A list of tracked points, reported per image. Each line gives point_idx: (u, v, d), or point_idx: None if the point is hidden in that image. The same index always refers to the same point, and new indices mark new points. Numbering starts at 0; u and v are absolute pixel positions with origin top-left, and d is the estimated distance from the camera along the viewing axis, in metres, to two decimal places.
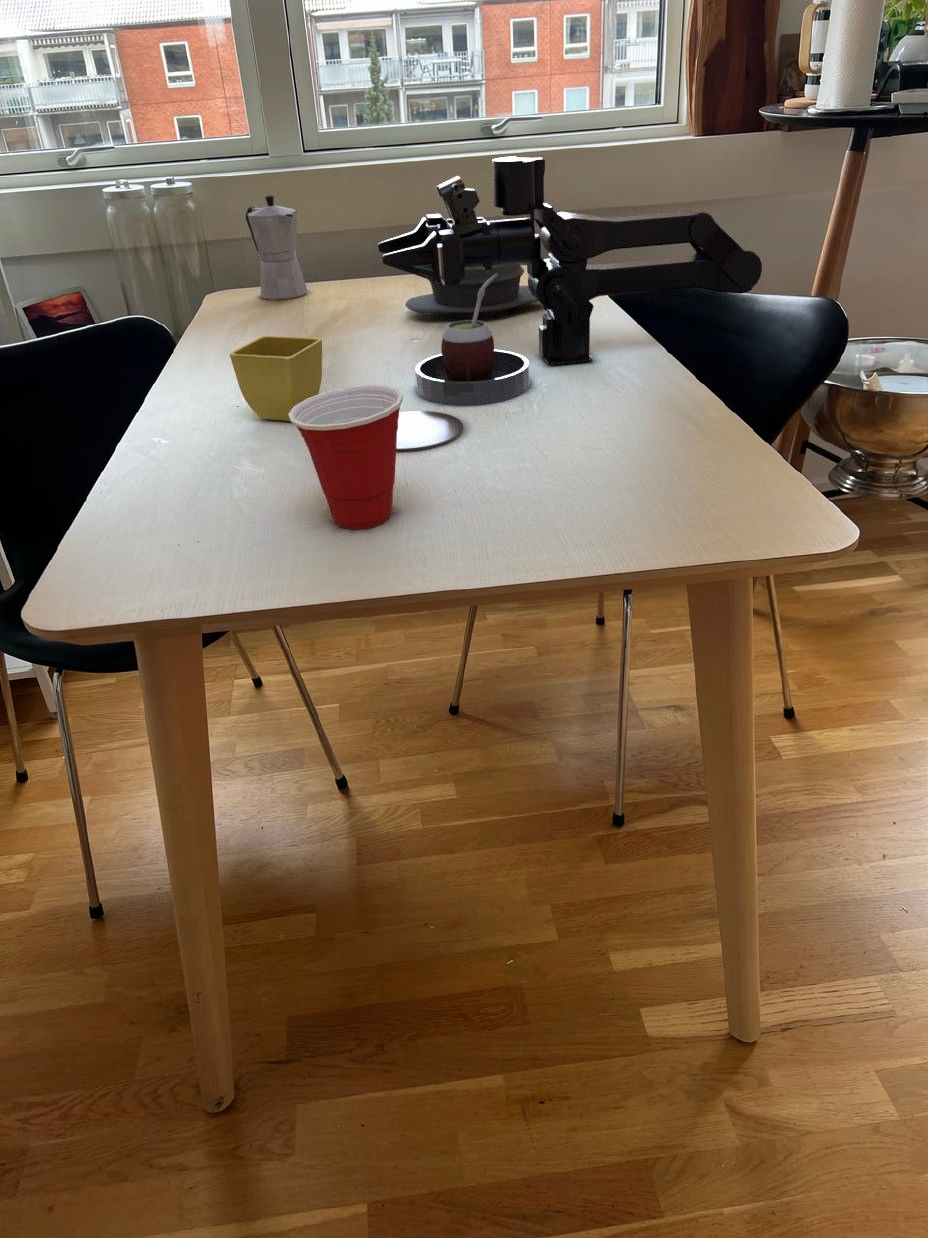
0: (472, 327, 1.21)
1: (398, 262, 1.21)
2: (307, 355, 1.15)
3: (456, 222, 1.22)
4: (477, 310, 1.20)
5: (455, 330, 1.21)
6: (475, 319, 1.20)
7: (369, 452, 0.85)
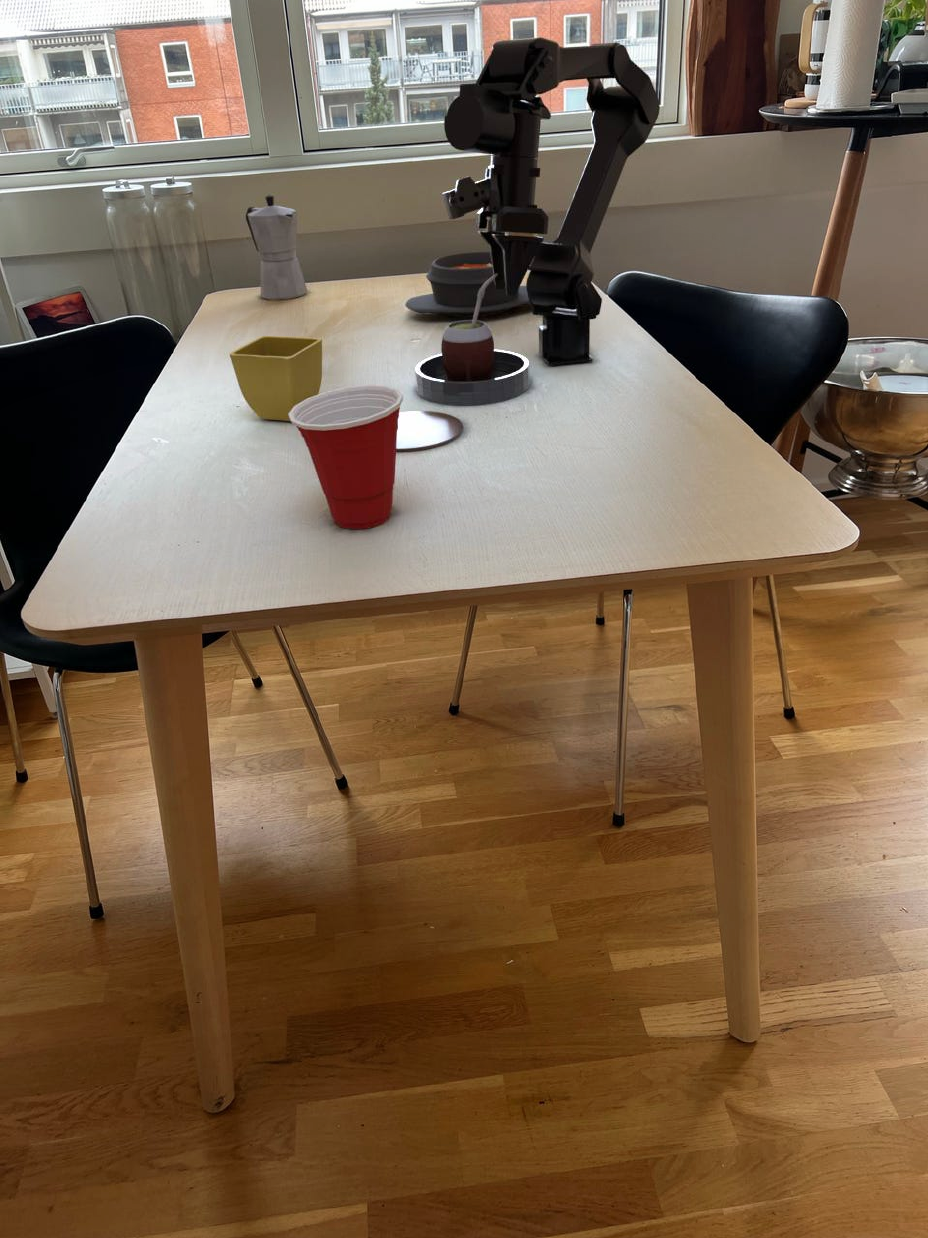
0: (472, 327, 1.21)
1: (516, 279, 1.15)
2: (307, 355, 1.15)
3: (487, 204, 1.14)
4: (477, 310, 1.20)
5: (455, 330, 1.21)
6: (475, 319, 1.20)
7: (369, 452, 0.85)
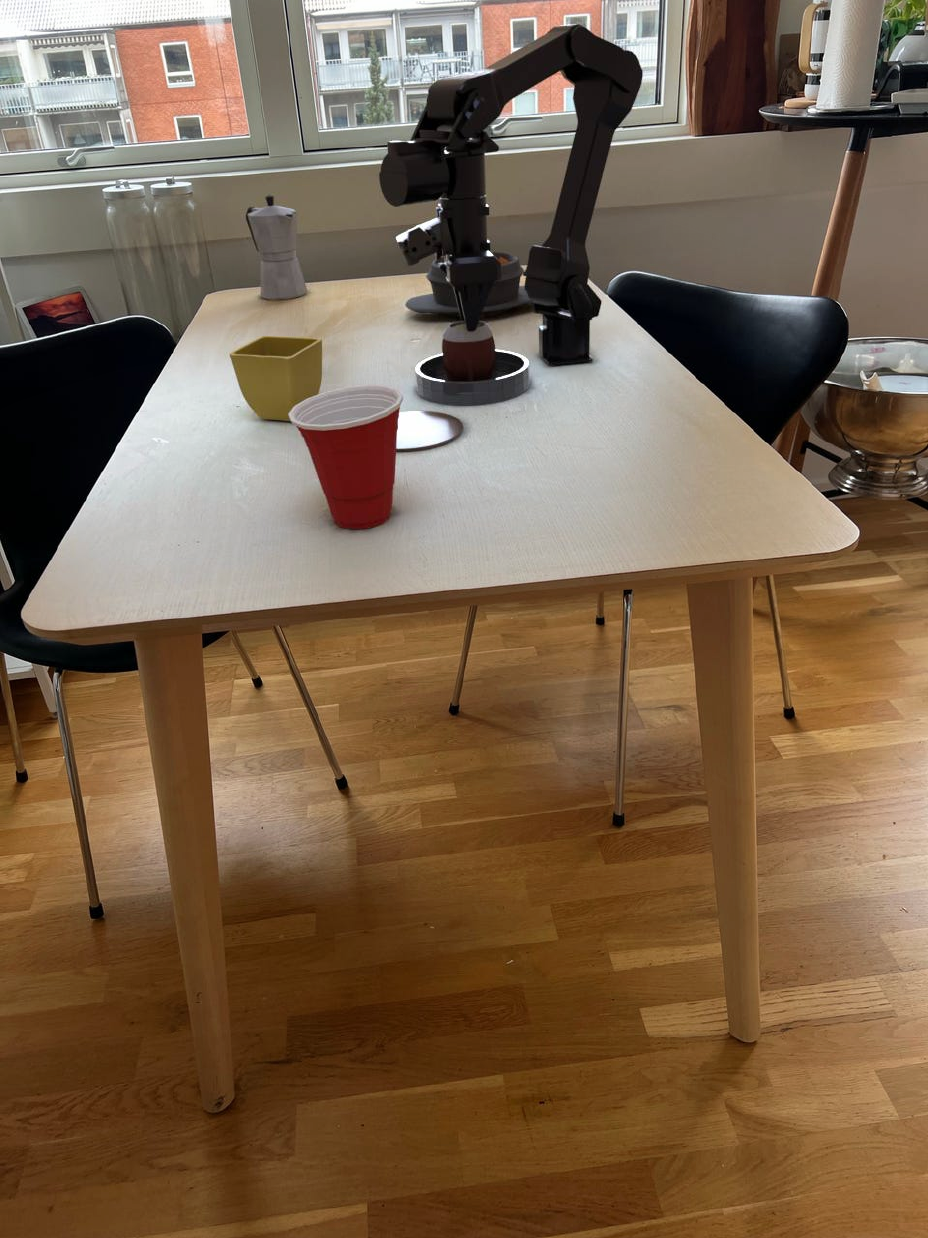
0: None
1: (474, 316, 1.18)
2: (307, 355, 1.15)
3: (440, 247, 1.15)
4: None
5: (457, 330, 1.20)
6: None
7: (369, 452, 0.85)
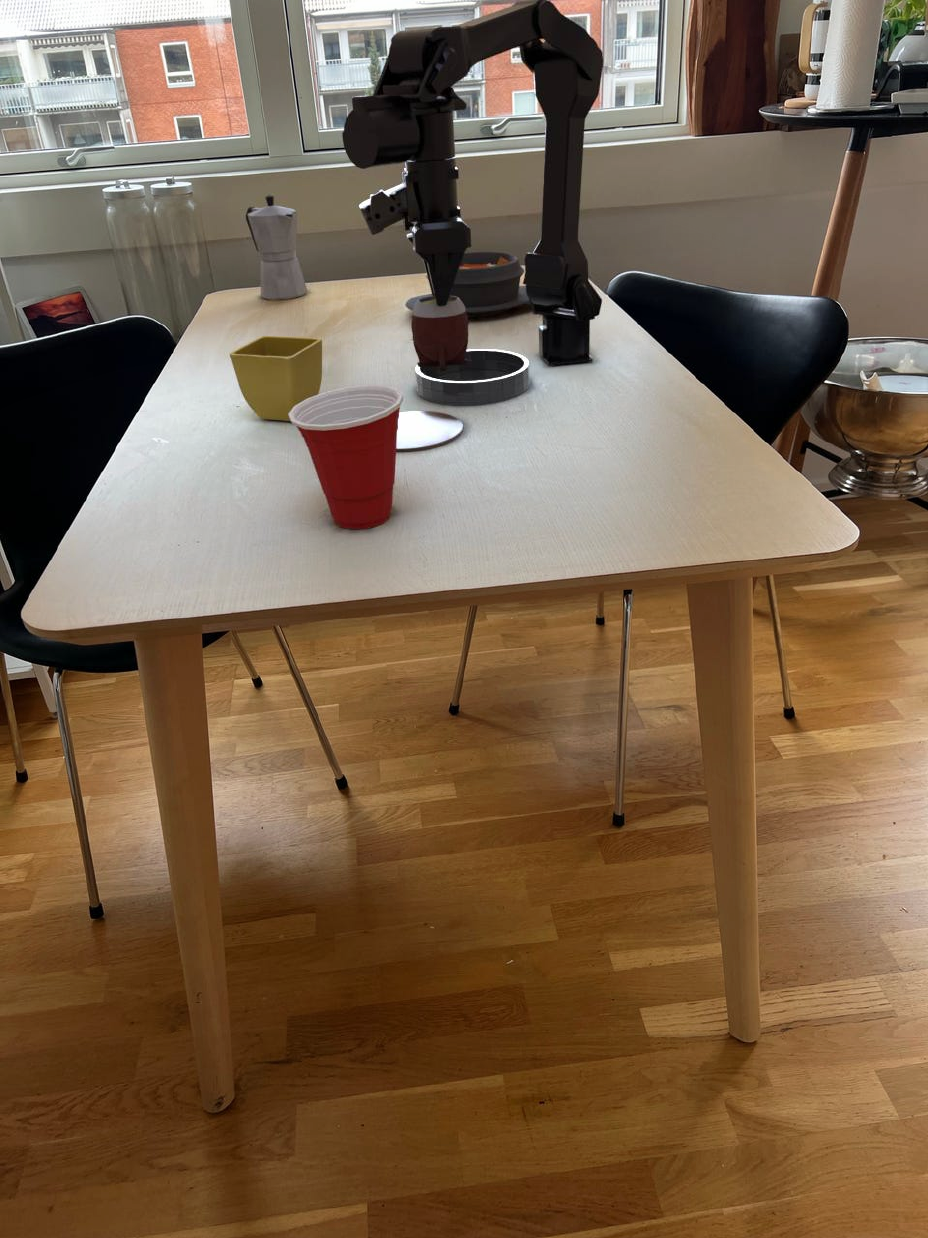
0: None
1: (444, 289, 1.10)
2: (307, 355, 1.15)
3: (406, 214, 1.07)
4: None
5: (426, 304, 1.12)
6: None
7: (369, 452, 0.85)
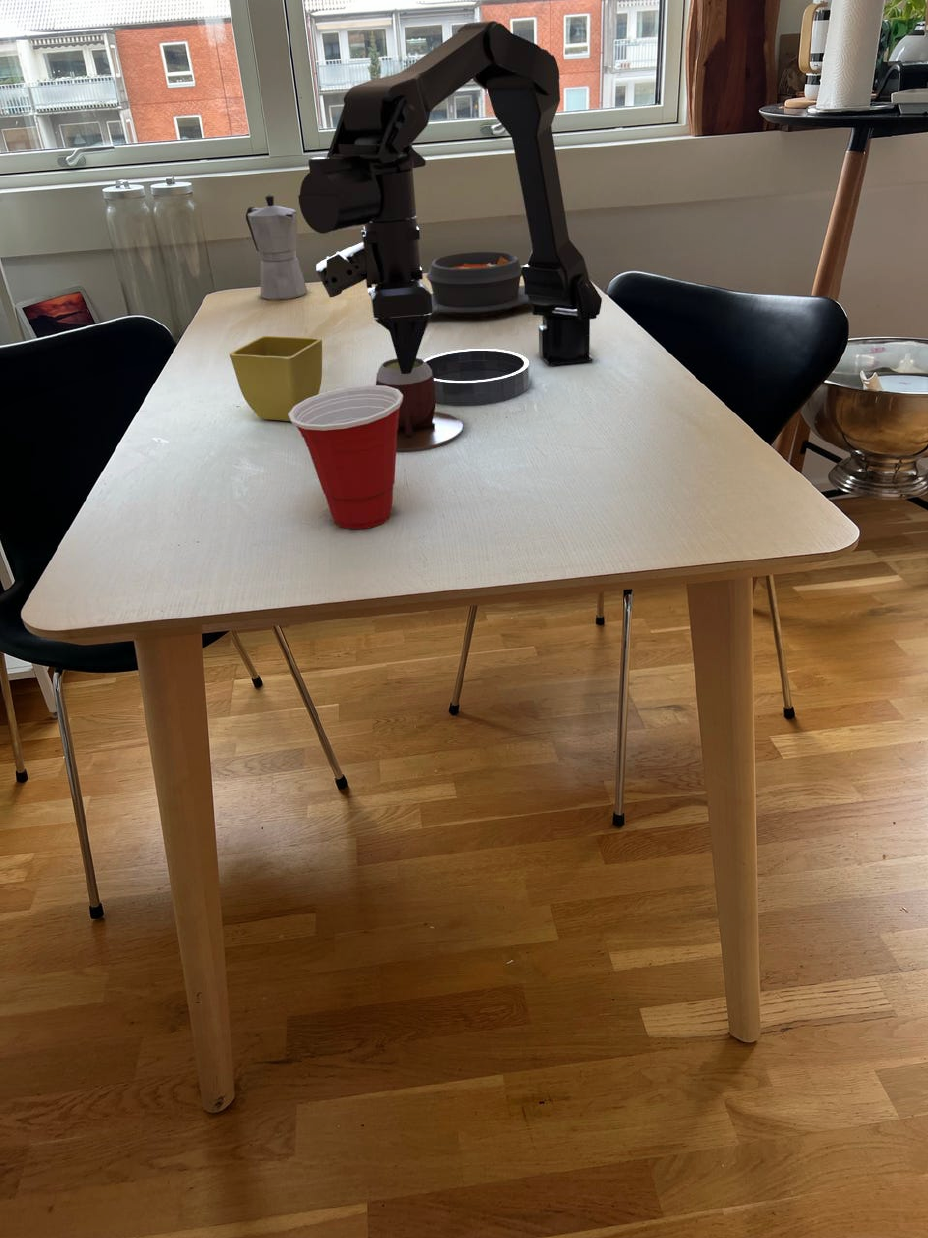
0: None
1: (408, 357, 1.03)
2: (307, 355, 1.15)
3: (365, 276, 1.01)
4: None
5: (391, 370, 1.07)
6: None
7: (369, 452, 0.85)
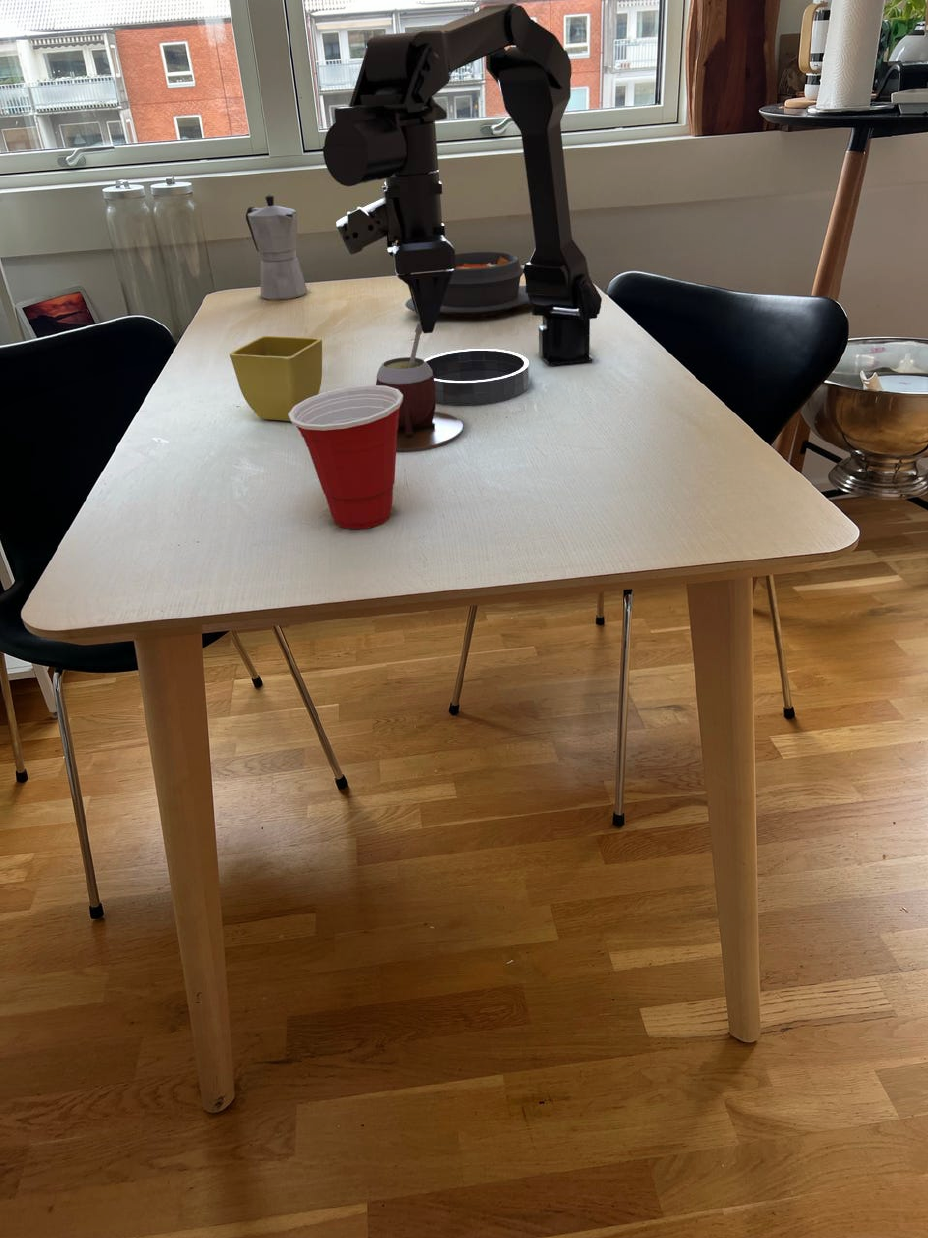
0: (410, 366, 1.07)
1: (430, 315, 1.01)
2: (307, 355, 1.15)
3: (386, 232, 0.99)
4: (415, 347, 1.06)
5: (391, 370, 1.07)
6: (413, 357, 1.07)
7: (369, 452, 0.85)
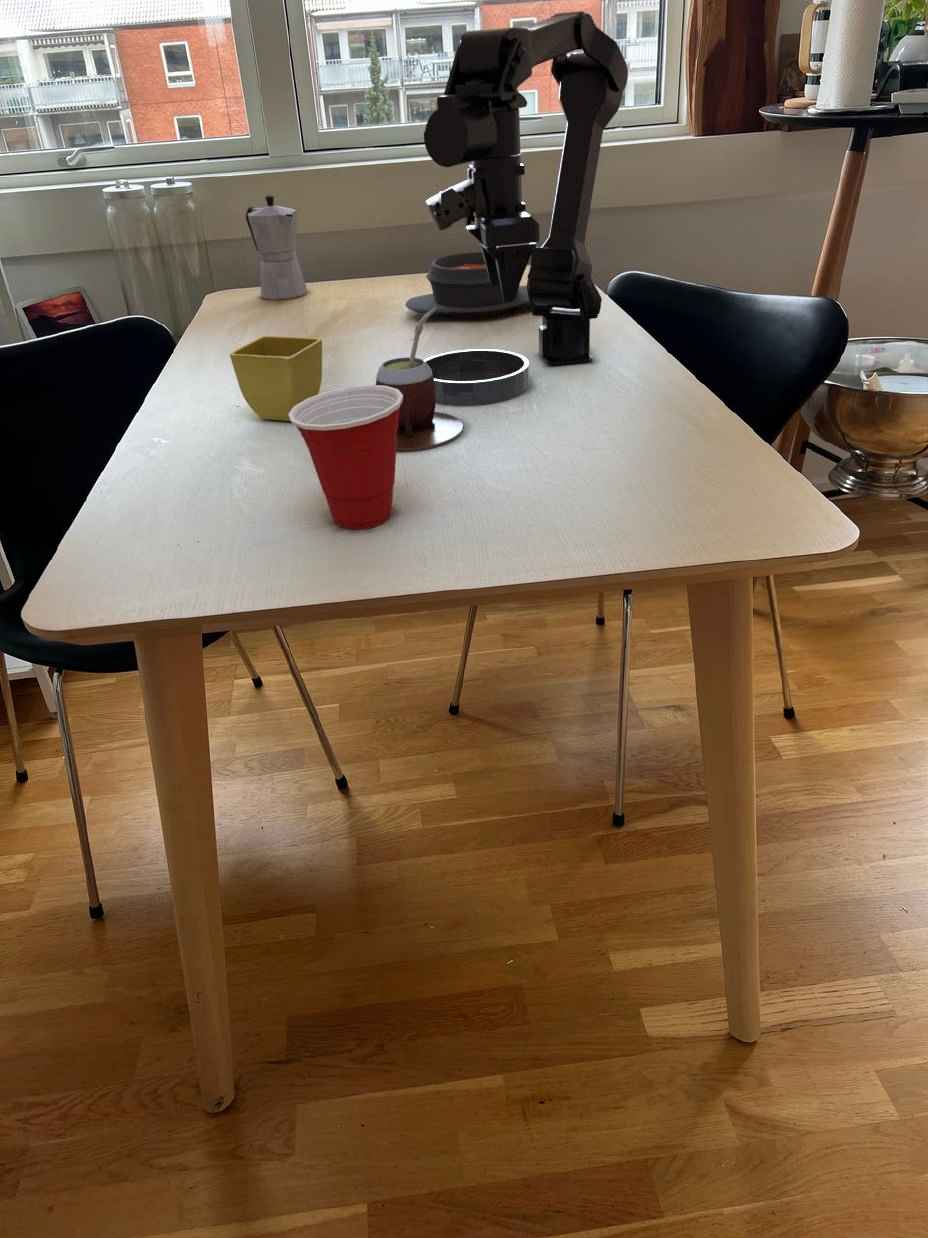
0: (410, 366, 1.07)
1: (512, 285, 1.12)
2: (307, 355, 1.15)
3: (473, 210, 1.10)
4: (415, 348, 1.06)
5: (391, 370, 1.07)
6: (413, 358, 1.06)
7: (369, 452, 0.85)
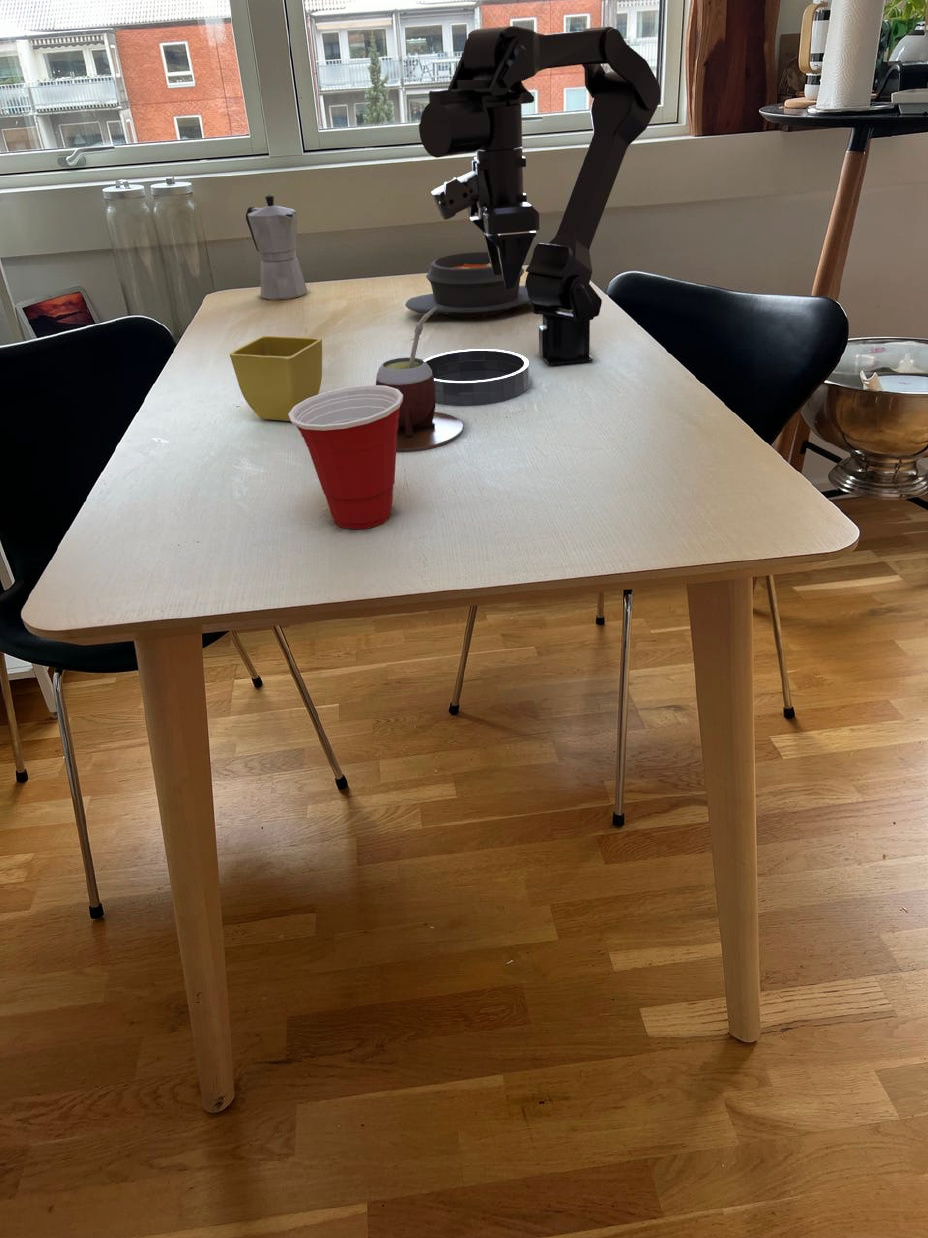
0: (410, 366, 1.07)
1: (513, 273, 1.16)
2: (307, 355, 1.15)
3: (476, 200, 1.15)
4: (415, 348, 1.06)
5: (391, 370, 1.07)
6: (413, 358, 1.06)
7: (369, 452, 0.85)
